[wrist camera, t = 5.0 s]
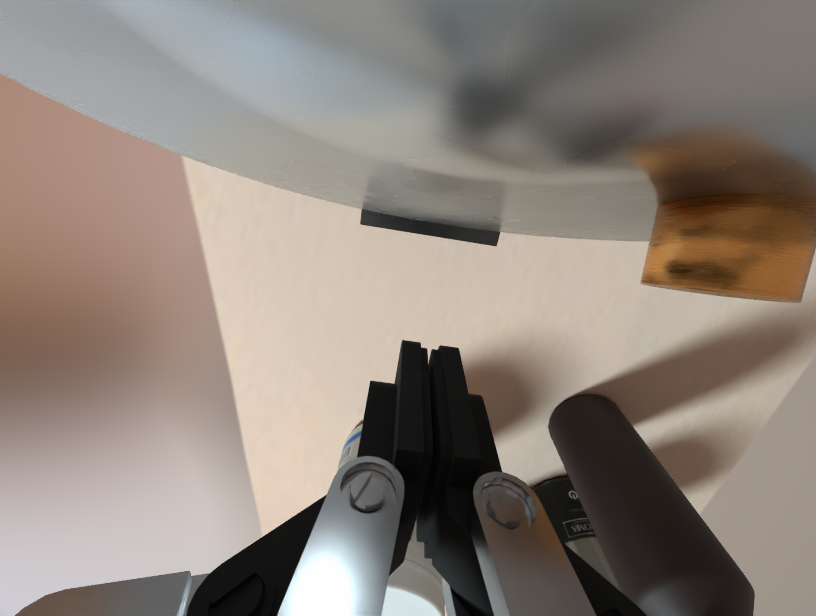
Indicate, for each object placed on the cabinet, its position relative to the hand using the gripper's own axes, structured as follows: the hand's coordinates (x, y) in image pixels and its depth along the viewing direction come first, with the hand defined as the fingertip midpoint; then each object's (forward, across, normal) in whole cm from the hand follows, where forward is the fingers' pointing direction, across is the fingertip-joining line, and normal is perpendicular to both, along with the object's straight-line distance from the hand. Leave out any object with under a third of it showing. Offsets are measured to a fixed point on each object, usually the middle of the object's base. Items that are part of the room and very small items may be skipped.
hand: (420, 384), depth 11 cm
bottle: (+18, -19, +15) cm, 30 cm away
